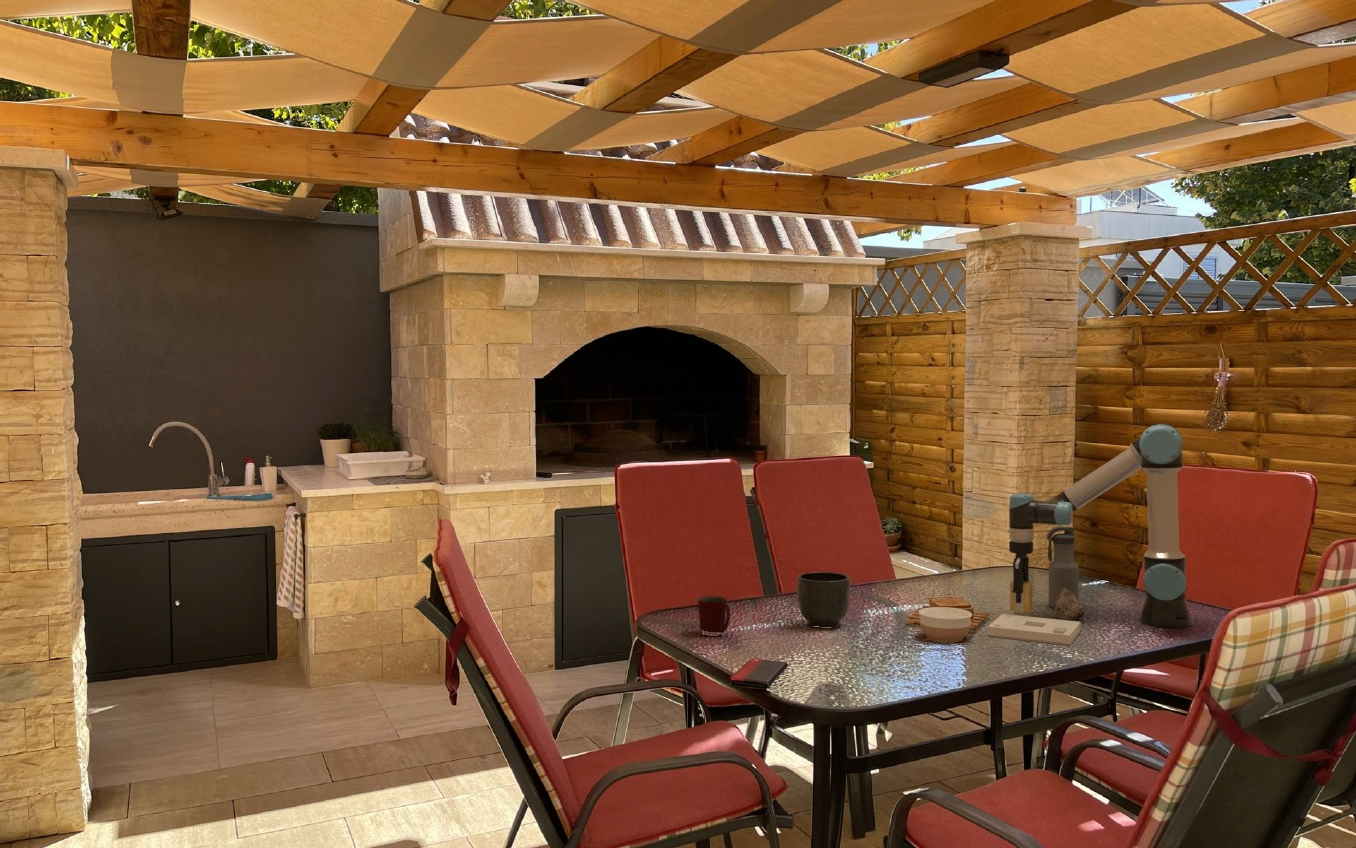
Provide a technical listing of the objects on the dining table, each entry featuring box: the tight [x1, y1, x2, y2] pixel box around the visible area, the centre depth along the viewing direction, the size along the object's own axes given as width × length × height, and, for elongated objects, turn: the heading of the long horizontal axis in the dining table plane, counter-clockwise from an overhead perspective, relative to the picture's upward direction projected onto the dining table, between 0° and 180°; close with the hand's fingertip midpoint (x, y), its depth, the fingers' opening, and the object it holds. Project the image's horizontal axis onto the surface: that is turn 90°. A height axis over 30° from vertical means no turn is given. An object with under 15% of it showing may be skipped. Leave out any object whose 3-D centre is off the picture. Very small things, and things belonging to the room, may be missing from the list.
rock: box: [1053, 588, 1085, 622], centre depth 338 cm, size 9×12×10 cm
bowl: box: [918, 606, 973, 643], centre depth 314 cm, size 16×16×8 cm
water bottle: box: [1046, 525, 1080, 609], centre depth 355 cm, size 10×10×28 cm
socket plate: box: [987, 613, 1082, 646], centre depth 318 cm, size 24×20×4 cm
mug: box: [697, 595, 731, 633], centre depth 320 cm, size 12×9×11 cm
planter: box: [796, 571, 851, 629], centre depth 332 cm, size 17×17×16 cm
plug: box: [1009, 579, 1033, 617], centre depth 338 cm, size 6×5×13 cm
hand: (1020, 610), depth 338 cm, fingers closed on plug, 5 cm apart
